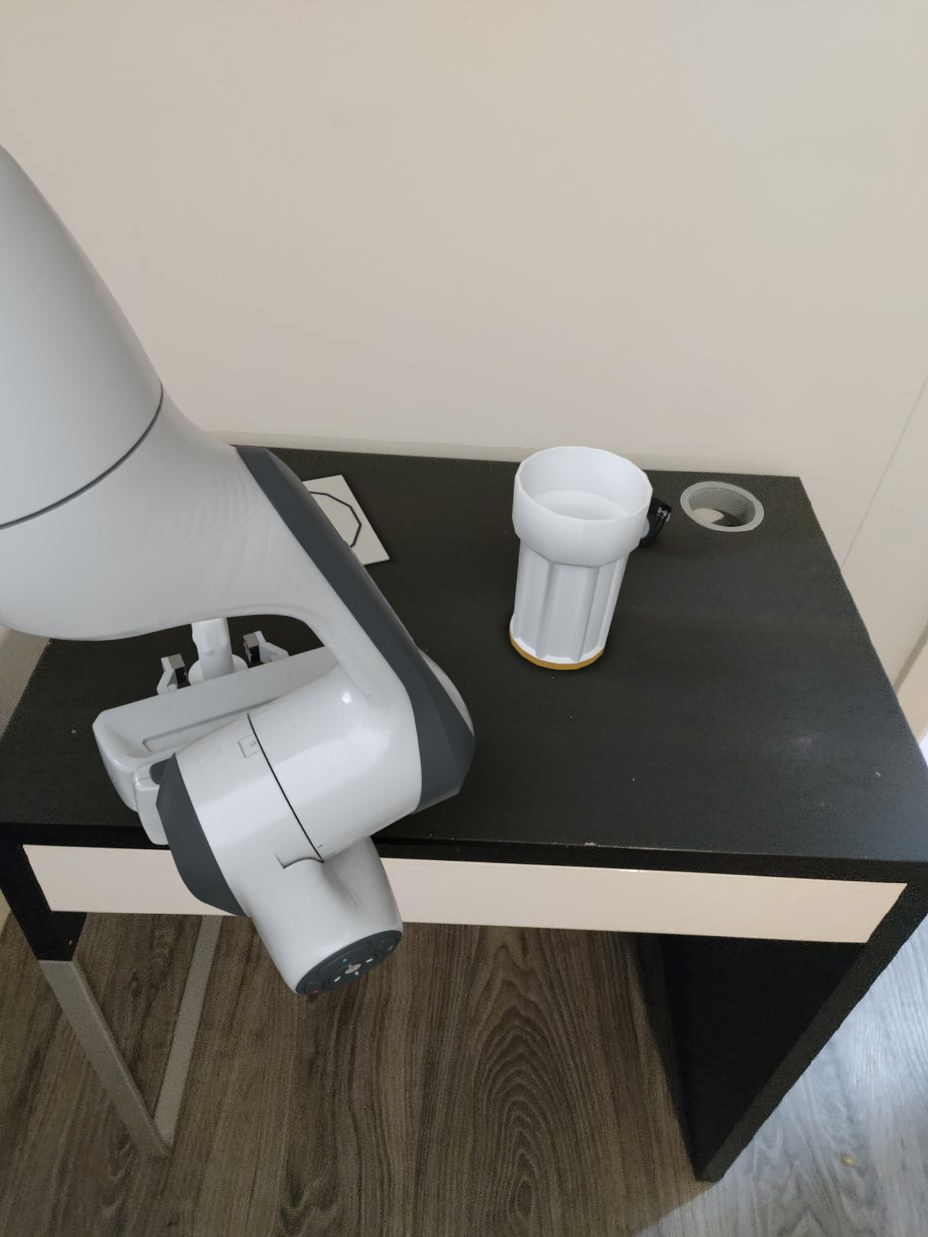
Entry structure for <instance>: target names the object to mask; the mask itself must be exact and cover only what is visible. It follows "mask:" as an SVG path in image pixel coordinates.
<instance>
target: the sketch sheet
mask: <svg viewBox="0 0 928 1237" xmlns="http://www.w3.org/2000/svg"><path fill="white" fill-rule="evenodd" d="M302 483H303V484H304V485H305V486H306V488H307V489H308V490H309V492H310V493H311V495H312V496H313V498H314V499H315V500H316V502H317V503H318V505H319V506H320V507H321V509H322V510H323V512H324V513H325V514H326V516H327V517H328V519H329V520H330V522H331V523H332V524H333V526H334V527H335V529H336V530H337V531H338V533H339V534H340V536H341V537H342V539H343V540H345V541H346V542H347V543H348V545H349V546H350V547H351V549H352V551H353V552H354V553H355V554H356V556H357V557H358V559H359V561H361V563H362V565H363V566H367V565H371V564H375V563H380V562H385V561H389V560H390V557H389V555H388V553H387V551H386V550H385V548H384V546H383V544H382V543H381V541H380V539H379V538H378V536H377V534H376V532H375V531H374V529H373V527H372V525H371V523H370V522H369V520H368V518H367V517H366V515H365V513H364V511H363V510H362V507H361V506H360V504H359V503H358V500H357V499H356V498H355V496H354V494H353V492H352V490H351V489H350V487H349V486H348V485H349V484H347V481H346V480H345V478H344V477H343V475H342V474H339V475H333V476H327V477H322V478H316V479H311V480H305V481H302Z"/></svg>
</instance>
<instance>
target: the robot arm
mask: <svg viewBox="0 0 928 1237" xmlns="http://www.w3.org/2000/svg"><path fill="white" fill-rule="evenodd" d="M302 482H303V481H302V480H301V479H300V478H299V476H298V475H297V474H296V473H295V472H294V471H293V470H292V469H291V468H290V467H289V466H288V465H287V464H286V463H285V462H284V461H282V460H281V459H280V458H279V457H278V456H277V455H275V454H274V453H273V452H271V451H270V450H268V449H267V448H266V447H258V446H247V445H245V446H244V445H236V446H233V445H231V444H228V443H227V442H224V441H223V440H220V439H219V438H216V437H215V436H213V435H211V434H210V433H208V432H207V431H205V430H204V429H202V428H201V427H199V426H198V425H197V424H195V423H194V422H193V420H191V419H189V417H188V416H186V415H185V414H184V412H183V411H182V410H181V409H180V408H179V407H178V406H177V404H175V402H174V401H173V399H172V398H171V396H170V395H169V393H168V391H167V390H166V388H165V385H164V384H163V382H162V380H161V378H160V377H159V374H158V373H157V371H156V369H155V366H154V365H153V363H152V361H151V359H150V358H149V355H148V353H147V352H146V350H145V348H144V346H143V344H142V342H141V339H140V338H139V336H138V335H137V333H136V332H135V330H134V328H133V327H132V325H131V323H130V321H129V320H128V318H127V317H126V314H125V313H124V311H123V309H122V308H121V306H120V304H119V303H118V301H117V300H116V297H115V296H114V295H113V293H112V292H111V290H110V288H109V287H108V285H107V284H106V283H105V281H104V279H103V278H102V276H101V275H100V273H99V272H98V270H97V268H96V267H95V266H94V264H93V263H92V261H91V260H90V258H89V256H88V255H87V254H86V252H85V250H84V249H83V247H82V246H81V245H80V243H79V242H78V241H77V239H76V238H75V236H74V234H72V232H71V231H70V229H69V228H68V227H67V225H66V223H65V221H63V219H62V218H61V217H60V216H59V214H58V212H57V211H56V210H55V208H54V207H53V205H52V204H51V202H49V200H48V199H47V197H45V195H44V194H43V192H42V191H41V189H39V187H38V186H37V185H36V184H35V182H34V181H33V179H32V178H31V177H30V175H28V173H27V171H26V170H25V169H24V168H23V167H22V165H21V164H20V163H19V161H17V160H16V158H14V156H13V155H12V154H11V153H10V152H9V151H8V150H7V149H6V148H4V146H3V145H1V144H0V626H2V627H4V628H8V629H10V630H13V631H15V632H16V631H17V632H20V633H23V634H28V635H32V636H37V637H42V638H46V639H47V638H48V639H55V640H62V641H85V642H97V641H112V640H113V641H115V640H123V639H127V638H132V637H133V638H134V637H139V636H144V635H147V634H151V633H154V632H159V631H163V630H167V629H172V628H176V627H181V626H185V625H192V624H191V623H196V622H201V621H207V620H212V619H219V618H233V617H243V616H253V615H254V616H255V615H257V616H258V615H277V616H286V617H290V618H294V619H297V620H299V621H302V622H303V623H305V625H307V626H308V627H309V628H310V629H311V630H312V632H313V633H314V634H315V636H316V637H317V638H318V639H319V640H320V642H321V644H323V645H324V646H321V647H317V648H315V649H311V650H308V651H304V652H301V653H298V654H293V655H290V654H289V653H288V651H287V650H285V649H283V648H281V647H279V646H277V645H275V644H273V643H271V642H267V640H266V639H265V637H264V634H263V633H262V631H261V630H258V631H254V632H251V633H248V634H244V635H242V641H243V643H242V646H243V649H244V652H245V654H246V656H247V659H248V660H249V663H250V664H253V663H257V662H261V663H263V664H259V665H257V666H252V667H250V668H249V667H248V669H246V670H242V671H239V672H236V673H232V674H229V675H225V676H222V677H218V678H215V679H212V680H208V681H205V682H201V683H198V684H195V685H191V684H190V685H188V686H185V687H181V688H178V687H179V685H181V684H184V683H187V682H189V679H188V675H187V669H186V665H185V663H184V660H183V658H182V655H181V653H176V654H172V655H168V656H164V657H161V658H160V661H161V665H162V670H163V674H162V675H161V678H160V680H159V683H158V684H157V686H156V692H157V695H154V696H151V697H147V698H144V699H141V700H136V701H134V702H131V703H126V704H124V705H123V704H122V705H119V706H116V707H113V708H109V709H106V710H103V711H101V712H100V713H98V715H97V717H96V718H95V720H94V722H93V723H92V726H91V728H92V732H93V734H94V738H95V741H96V744H97V748H98V750H99V754H100V756H101V759H102V762H103V765H104V767H105V770H106V772H107V774H108V776H109V779H110V781H111V783H112V784H113V786H114V788H115V790H116V792H117V794H118V795H119V798H120V799H121V800H122V801H123V802H124V804H125V805H126V806H127V807H128V808H129V809H131V810H132V811H134V812H135V813H137V814H138V817H139V820H140V823H141V825H142V828H143V829H144V832H145V833H146V835H147V837H148V839H149V840H150V841H151V843H153V844H155V845H162V846H165V845H167V846H168V847H169V851H170V853H171V856H172V859H173V862H174V865H175V867H176V870H177V873H178V874H179V876H180V878H181V880H182V882H183V884H184V885H185V887H186V889H187V890H188V891H189V892H190V894H192V896H193V897H194V898H195V899H197V900H198V901H200V902H201V903H203V904H205V905H208V906H211V907H212V908H216V909H218V910H221V911H222V912H225V913H227V914H230V915H234V916H237V917H241V918H245V919H247V918H248V917H250V918H251V921H252V923H253V924H254V927H255V929H256V931H257V933H258V935H259V937H260V939H261V942H262V943H263V945H264V947H265V950H266V951H267V953H268V954H269V956H270V959H271V960H272V962H273V964H274V966H275V967H276V969H277V971H278V973H279V975H280V976H281V978H282V979H283V981H284V982H285V984H286V985H287V987H288V988H289V989H290V990H291V991H292V992H293V993H294V994H295V995H296V994H297V995H300V996H317V995H323V994H327V993H329V992H332V991H334V990H339V989H340V988H343V987H344V986H346V985H348V984H350V983H352V982H354V981H355V980H358V979H359V978H361V977H362V976H364V975H366V974H367V973H370V971H372V970H374V969H375V968H377V967H378V966H380V965H381V964H383V963H384V961H385V960H386V959H387V958H388V957H390V956H391V955H392V954H393V953H394V952H395V950H396V949H397V946H398V945H399V944H400V942H401V941H402V939H403V937H404V932H405V931H404V930H405V929H404V925H403V924H404V923H403V920H402V916H401V913H400V910H399V906H398V903H397V899H396V897H395V894H394V891H393V887H392V885H391V881H390V880H389V877H388V874H387V871H386V869H385V866H384V864H383V861H382V858H381V857H380V855H379V851H378V850H377V847H376V846H375V843H374V842H373V840H372V837H371V836H372V835H374V834H375V833H377V832H380V831H381V830H382V829H384V828H386V827H388V826H390V825H391V824H393V823H395V822H396V821H399V820H401V819H403V818H405V817H406V816H409V815H410V816H411V815H414V814H417V813H419V812H421V811H423V810H426V809H427V808H429V807H432V806H435V805H436V804H438V803H441V802H443V801H445V800H447V799H449V798H452V797H454V796H456V795H458V794H459V792H460V790H461V788H462V786H463V784H464V782H465V781H466V777H467V775H468V772H469V770H470V767H471V764H472V762H473V759H474V755H475V752H476V748H477V740H476V737H475V729H474V725H473V721H472V717H471V715H470V713H469V710H468V707H467V705H466V703H465V701H464V699H463V697H462V696H461V694H460V692H459V691H458V689H457V687H456V686H455V684H454V683H453V681H452V680H451V679H450V678H449V676H448V675H447V674H446V672H445V671H444V670H443V669H442V668H441V667H440V665H438V664H437V662H435V661H434V660H433V659H432V658H431V657H430V656H429V655H427V654H426V653H425V651H423V650H422V649H421V648H419V646H418V645H416V643H415V640H414V638H413V637H412V636H411V635H410V633H409V631H408V629H407V628H406V626H405V625H404V623H403V622H402V621H401V620H400V617H399V616H398V615H397V614H396V612H395V609H394V608H392V605H390V603H389V602H388V600H387V598H386V597H385V596H384V594H383V593H382V591H381V590H380V589H379V587H378V585H377V583H376V582H375V581H374V580H373V578H372V576H371V575H370V574H369V573H368V570H367V569H366V567H365V565H362V563H361V561H359V559H358V557H357V556H356V554H355V553H354V552H353V551H352V549H351V547H350V546H349V545H348V543H347V542H346V541H345V540H343V539H342V537H341V536H340V534H339V533H338V531H337V530H336V529H335V527H334V526H333V524H332V523H331V522H330V520H329V519H328V517H327V516H326V514H325V513H324V512H323V510H322V509H321V507H320V506H319V505H318V503H317V502H316V500H315V499H314V498H313V496H312V495H311V493H310V492H309V490H308V489H307V488H306V486H305V485H304V484H303V483H302Z"/></svg>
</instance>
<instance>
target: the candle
mask: <svg viewBox="0 0 928 1237" xmlns="http://www.w3.org/2000/svg"><path fill="white" fill-rule="evenodd" d="M227 618H228V617H226V618H219V619H212V620H207V621H201V622H196V623H191V624H190V625H191V631H192V636H191V637H192V641H193V643H194V644H195V645H196V648H197V654H198V660H197V661H195V662H194V663H193V664H192V665H191V667H190V669H189V671H188V675H187V679H188V682H189V684H190V686H191V685H195V684H198V683H201V682H205V681H208V680H212V679H215V678H218V677H222V676H225V675H229V674H232V673H236V672H239V671H242V670H246V669H249V667H248V663H247V662H246V661H245V660H244V659H243V658H242V657H241V656H238V655H236V654H233V651H232V650H233V649H232V644H231V638H230V631H229V630H230V629H229V624H228V619H227Z"/></svg>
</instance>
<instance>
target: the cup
mask: <svg viewBox="0 0 928 1237" xmlns="http://www.w3.org/2000/svg"><path fill="white" fill-rule="evenodd" d="M515 473H516V474H515V476H514V486H513V501H512V502H513V503H512V512H511V513H512V514H511V515H512V516H511V519H512V524H513V529H514V533H515V534H516V535H517V537H518V538H519V539H520V543H519V553H518V564H517V575H516V576H517V577H516V586H515V596H514V597H515V598H514V608H513V609H514V610H513V614H512V616H511V619H510V623H509V638H510V643H511V645H512V646H513V647H514V649H515V650H516V651H517V652H518V653H519V655H521V656H522V657H523V658H525V659H526V660H528V661H529V662H531V663H532V664H534V665H536V666H538V667H539V666H540V667H542V668H546V669H551V670H559V671H563V670H564V671H565V670H566V671H567V670H578V669H581V668H583V667H587V666H589V665H590V664H593V663H594V662H595V661H596V660H598V658H600V657H601V656H602V655H603V654H604V650H605V647H606V643H607V638H608V635H609V631H610V626H611V624H612V620H613V616H614V612H615V608H616V605H617V601H618V597H619V593H620V590H621V587H622V583H623V579H624V575H625V571H626V567H627V564H628V560H629V556H630V553H631V552H633V551H634V550H635V549H636V548H637V547H639V546H640V545H639V541H640V538H641V534H642V530H643V527H644V523H645V519H646V516H647V512H648V509H649V505H650V501H651V497H653V491H654V488H653V486H652V484H651V482H650V480H649V477H648V475H647V473H646V472H645V471H643V470H642V469H641V468H640V467H639V466H637V465H636V464H635V463H634V462H633V461H631V460H630V459H628V458H625V457H623V456H621V455H619V454H617V453H614V452H613V451H610V450H606V449H602V448H596V447H590V446H587V445H557V446H553V447H549V448H545V449H542V450H538V451H536V452H535V453H533V454H531V455H530V456H528V457H527V458H525V459H524V460H522V461H521V462H520V464H519V466H518V468H517V471H516V472H515Z"/></svg>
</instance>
